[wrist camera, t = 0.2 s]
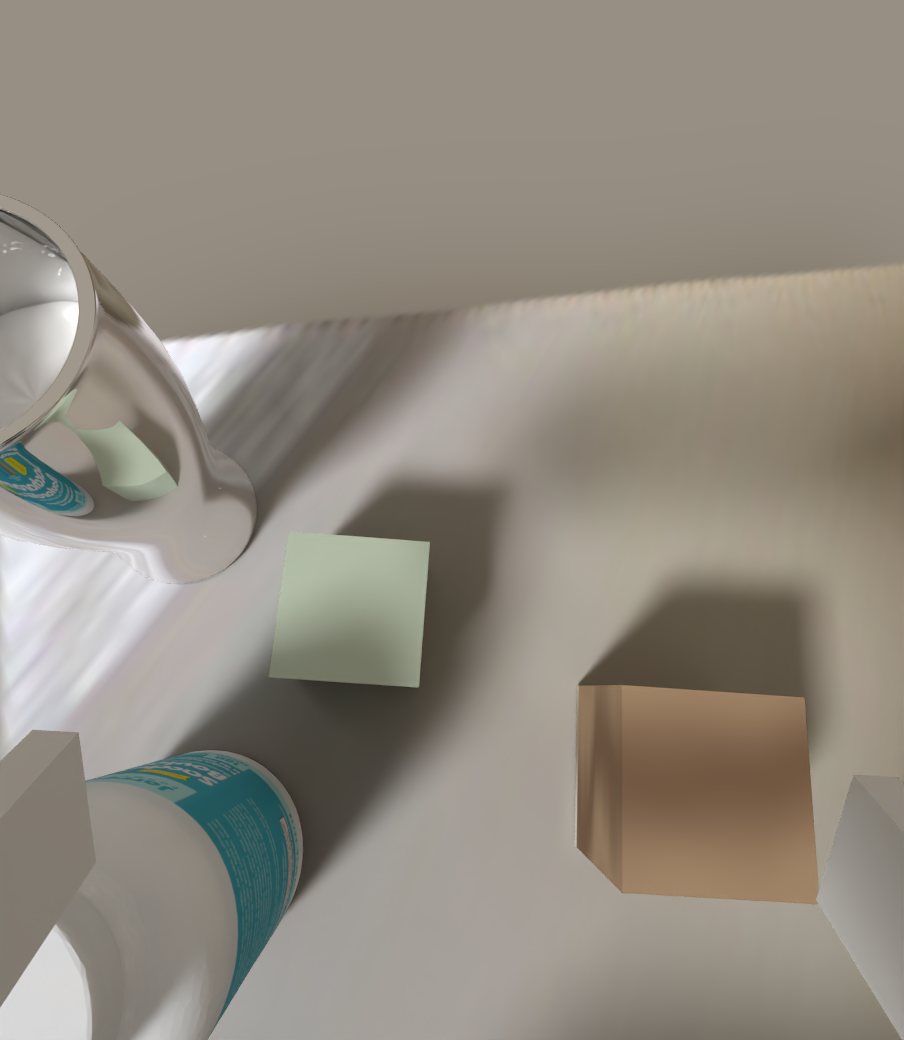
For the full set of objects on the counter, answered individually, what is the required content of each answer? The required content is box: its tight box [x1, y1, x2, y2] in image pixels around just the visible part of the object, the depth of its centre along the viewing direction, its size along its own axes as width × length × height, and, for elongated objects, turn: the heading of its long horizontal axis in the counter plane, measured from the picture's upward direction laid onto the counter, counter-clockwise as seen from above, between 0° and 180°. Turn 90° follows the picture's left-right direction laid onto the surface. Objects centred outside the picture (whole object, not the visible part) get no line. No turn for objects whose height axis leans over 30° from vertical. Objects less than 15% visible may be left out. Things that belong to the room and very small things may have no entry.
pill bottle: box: [0, 750, 303, 1040], centre depth 18 cm, size 8×7×14 cm
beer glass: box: [0, 194, 257, 584], centre depth 20 cm, size 7×7×15 cm
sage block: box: [268, 531, 430, 688], centre depth 24 cm, size 5×5×5 cm
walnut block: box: [575, 685, 819, 904], centre depth 23 cm, size 6×6×6 cm
